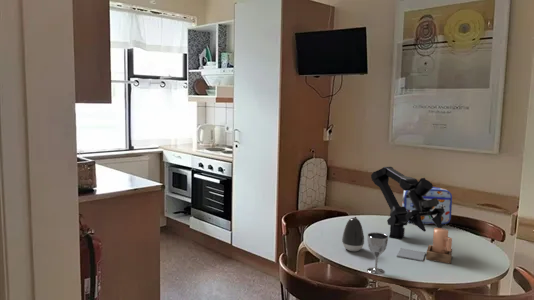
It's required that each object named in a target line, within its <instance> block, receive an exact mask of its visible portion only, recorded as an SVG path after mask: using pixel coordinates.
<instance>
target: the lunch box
mask: <svg viewBox="0 0 534 300" xmlns="http://www.w3.org/2000/svg"><path fill="white" fill-rule="evenodd" d="M410 191H411V190H407V191H405V190H403V193H402V199H401V202H402V206H401V207H405V208H406V210H407V212H409V211H410V210H416V209H415V208H413V207H412V206H413V203H412V201H411V199H410V198H406V196H407V193H409V192H410ZM423 198H424V200H432V199H433V198H437V199H438V201H439V204H438V205H437V206H435V207H432V208H433V209H431V210H430V211H433V210H434V209H435V208H443V209H444V211H445V213H443V215H442V216H441V224H442V225H446V224H449V223H450V221H451V219H452V208H453V207H452V206H453V195H452V193H451V192H450V191H449V190H447V189H446V188H441V187H435V186H433V188H432V189H431V190H430V191H429V192H428V193H427V194H426V195H425V196H423ZM432 219H433V218H431V216H421V220H422V222H423V225H436V224H435V223H434V222H433V220H432ZM408 223H411V222H410V221H408Z"/></svg>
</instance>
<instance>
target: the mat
mask: <svg viewBox="0 0 534 300" xmlns="http://www.w3.org/2000/svg"><path fill="white" fill-rule="evenodd" d="M426 252H427V251H420V250H415V249H409V248H403V247H401V248H400V249H399V251H398V253H397V255H396V257H397V258H401V259H407V260H414V261H418V262H423V261H424V260H425V257H426Z"/></svg>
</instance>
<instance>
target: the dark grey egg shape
mask: <svg viewBox="0 0 534 300" xmlns="http://www.w3.org/2000/svg"><path fill="white" fill-rule="evenodd" d="M341 243H342V245H343V247H344V249H346V250H347V251H349V252H358V251H360V250H362V248H363V247H364V245H365V234H364V229H363V226H362V223H361V221H360V220H359V219H358V218H357V216H355V217H351V218H350V219H348V221H347V222H346V224H345V227H344V229H343V234H342V237H341Z"/></svg>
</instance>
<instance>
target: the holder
mask: <svg viewBox="0 0 534 300" xmlns="http://www.w3.org/2000/svg"><path fill="white" fill-rule="evenodd" d="M432 248H433V244H428V247H427V249H426V251H425V252H426V253H425V259H426V260H429V261H434V262H438V263H439V262H441V263H445V264H451V263H452V257H453V248H451V251H447V254H442V253H436V252H432Z"/></svg>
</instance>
